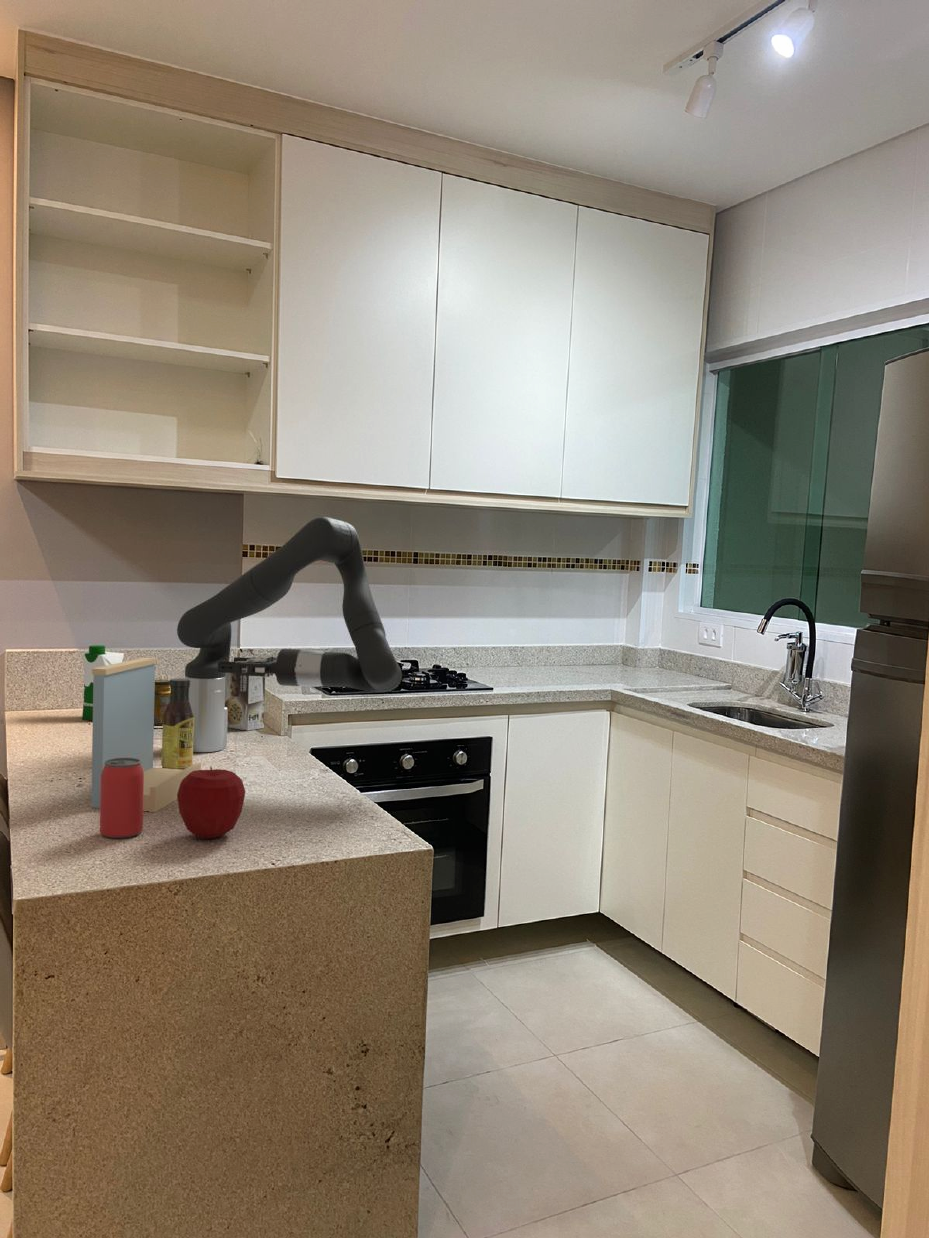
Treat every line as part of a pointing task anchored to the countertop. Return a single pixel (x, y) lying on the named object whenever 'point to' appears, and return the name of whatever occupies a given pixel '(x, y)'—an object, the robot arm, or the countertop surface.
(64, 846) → the countertop surface
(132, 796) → the beer can
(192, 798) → the apple
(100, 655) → the milk carton
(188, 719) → the sauce bottle
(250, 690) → the coffee box
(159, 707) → the condiment
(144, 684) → the wall board
